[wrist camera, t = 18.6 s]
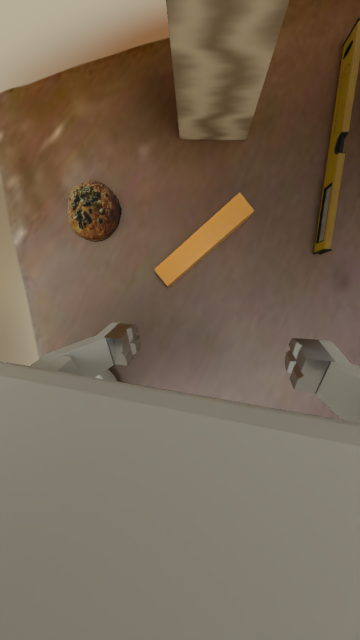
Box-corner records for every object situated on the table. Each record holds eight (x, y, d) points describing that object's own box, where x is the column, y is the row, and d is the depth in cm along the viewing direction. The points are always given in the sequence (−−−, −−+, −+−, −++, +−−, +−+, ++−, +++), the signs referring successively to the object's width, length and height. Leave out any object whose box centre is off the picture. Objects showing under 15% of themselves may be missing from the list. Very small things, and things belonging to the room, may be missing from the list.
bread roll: (131, 228, 35) (116, 217, 30) (88, 252, 38) (69, 245, 33) (110, 175, 35) (92, 155, 30) (69, 203, 38) (46, 189, 33)
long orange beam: (249, 218, 33) (254, 210, 31) (169, 287, 36) (167, 286, 33) (235, 201, 33) (239, 192, 30) (157, 272, 36) (153, 269, 33)
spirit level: (341, 46, 29) (358, 18, 26) (350, 46, 29) (367, 17, 26) (312, 254, 33) (323, 250, 30) (319, 254, 33) (331, 250, 30)
